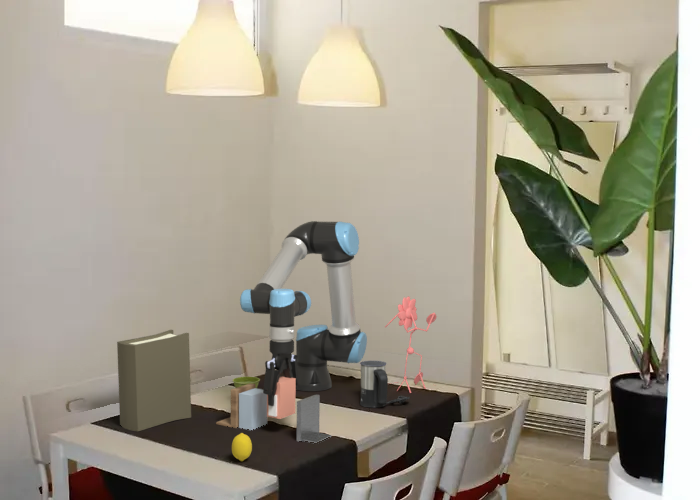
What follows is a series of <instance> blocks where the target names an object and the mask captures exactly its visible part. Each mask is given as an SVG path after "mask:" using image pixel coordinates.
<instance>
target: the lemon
mask: <svg viewBox="0 0 700 500" xmlns="http://www.w3.org/2000/svg"><path fill="white" fill-rule="evenodd" d="M252 451H253V444H252V440H251V438H250V436H248V435H247V434H244V433H243V432H240V433H239V434H236V436H234V438H233V440H232V443H231V453H232V455H233V457H234V458H236V459H237V460H239V461H240V462H244V461H245V460H246V459H248V458H249V457H250V456H251V453H252Z"/></svg>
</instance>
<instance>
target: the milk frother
mask: <svg viewBox="0 0 700 500" xmlns="http://www.w3.org/2000/svg"><path fill="white" fill-rule="evenodd" d="M359 364H360V402H359V405H360V406H362V407H365V408H382V407H385V406H387V404H392V403H393V404H394V403H397V402H399V404H404V403H405V402H406V401H407V400H409V399H410V396H405V395H398V396H397V398H395V399H392V400H389V401H388V387H389V386H388V385H389V381H388V379H389V378H388V374H387V372H386V366H387V362H385V361H381V360H363V361H360V362H359Z"/></svg>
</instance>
